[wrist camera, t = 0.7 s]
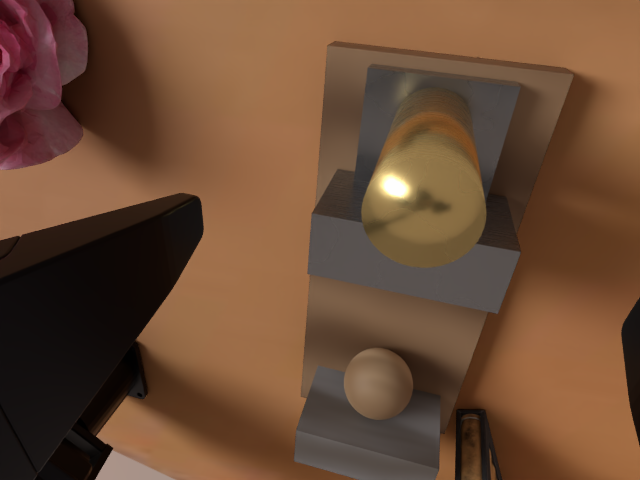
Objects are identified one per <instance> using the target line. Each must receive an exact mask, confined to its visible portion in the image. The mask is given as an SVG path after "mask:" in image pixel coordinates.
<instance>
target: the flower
mask: <svg viewBox="0 0 640 480" xmlns="http://www.w3.org/2000/svg"><path fill="white" fill-rule="evenodd" d="M74 12H75V10H74V3H73V0H0V169H2V170H9V169H18V168H24V167H28V166H33V165H37V164H41V163H44V162H47V161H50V160H52V159H53V158H55V157H57V156H58V155H61V154H64V153H66V152H68V151H69V150H71V149H72V148H73V147H74V146H76V145H77V144H78V143H79V141H80V140H81V138H82V136H83V129H82V127H81V125H80V124H79V123H78V122H77V120H76V119H75V118H74V117H73V116H72V115H71V113H70V112H69V111H68V110H67V108H66V107H65V106H64V105H63V104H62V102H61V96H62V85H65V84H67V83H69V82H70V81H72V80H73V79H75V78H76V77H78V76H79V75H81V74H82V73H84V71H85V69H86V65H87V57H88V39H87V32H86V28H85V27H84V25H83V24H82V23H81V21H79V20H78V19H77V18H76V17H75V16H74V14H73V13H74Z"/></svg>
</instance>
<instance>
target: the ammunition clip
mask: <svg viewBox="0 0 640 480" xmlns="http://www.w3.org/2000/svg"><path fill="white" fill-rule="evenodd" d="M455 480H502V477H501V473H500V469H499V465H498V461H497V457H496V453H495V449H494V445H493V440H492V436H491V432H490V428H489V424H488V420H487V416H486V412H485V410H457V414H456V460H455Z"/></svg>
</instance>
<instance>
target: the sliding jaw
mask: <svg viewBox="0 0 640 480" xmlns="http://www.w3.org/2000/svg"><path fill="white" fill-rule="evenodd" d="M520 88H521V86H520V85H519V83H518V82H515V81H507V80H499V79H491V78H483V77H475V76H467V75H458V74H450V73H442V72H434V71H426V70H418V69H410V68H402V67H393V66H385V65H377V64H371V65H370V66H369V67H368V70H367V78H366V86H365V94H364V102H363V110H362V119H361V127H360V135H359V143H358V151H357V159H356V167H355V172H354V171H348V170H342V169H337V171H336V172H335V174H334V176H333V178H332V179H331V181H330V183H329V185H328V186H327V188H326V190H325V191H324V193H323V195H322V197H321V198H320V200H319V202H318V204H317V205H316V207H315V209H314V211H313V212H312V219H311V232H310V246H309V260H308V274H311V275H315V276H320V277H325V278H330V279H334V280H339V281H344V282H349V283H353V284H358V285H363V286H368V287H372V288H377V289H382V290H387V291H392V292H396V293H401V294H406V295H411V296H415V297H420V298H425V299H430V300H434V301H439V302H444V303H449V304H453V305H458V306H463V307H468V308H473V309H477V310H482V311H487V312H492V313H496V314H498V312H499V309H500V307H501V304H502V301H503V299H504V296H505V293H506V291H507V288H508V285H509V283H510V280H511V278H512V275H513V272H514V270H515V267H516V264H517V262H518V259H519V256H520V254H521V250H520V246H519V242H518V239H517V235H516V231H515V227H514V223H513V220H512V216H511V212H510V208H509V204H508V201H507V197H505V196H499V195H492V194H488V193H489V190H490V187H491V183H492V180H493V177H494V173H495V170H496V167H497V164H498V160H499V157H500V154H501V150H502V147H503V144H504V141H505V137H506V134H507V131H508V127H509V124H510V121H511V118H512V114H513V111H514V108H515V104H516V101H517V98H518V95H519V91H520Z"/></svg>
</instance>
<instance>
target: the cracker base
mask: <svg viewBox="0 0 640 480" xmlns="http://www.w3.org/2000/svg"><path fill="white" fill-rule="evenodd" d="M371 64H377V65H385V66H393V67H402V68H410V69H418V70H426V71H434V72H442V73H450V74H458V75H467V76H475V77H483V78H491V79H499V80H507V81H515V82H518V83H519V85H520V86H521V88H520V91H519V95H518V98H517V101H516V104H515V108H514V111H513V114H512V118H511V121H510V124H509V127H508V131H507V134H506V137H505V141H504V144H503V147H502V150H501V154H500V157H499V160H498V164H497V167H496V170H495V173H494V177H493V180H492V183H491V187H490V190H489V193H488V194H492V195H499V196H505V197H507V201H508V204H509V208H510V212H511V216H512V220H513V223H514V227H515V231H516V234H517V231H518V228H519V226H520V223H521V220H522V217H523V215H524V212H525V209H526V206H527V204H528V201H529V198H530V195H531V192H532V190H533V187H534V184H535V181H536V179H537V176H538V173H539V170H540V168H541V165H542V162H543V159H544V156H545V154H546V151H547V148H548V145H549V143H550V140H551V137H552V134H553V132H554V129H555V126H556V123H557V120H558V118H559V115H560V112H561V109H562V107H563V104H564V101H565V98H566V96H567V93H568V90H569V87H570V84H571V82H572V79H573V76H574V74H573V73H571V72H570V71H569V70H567V69H566V68H561V67H552V66H544V65H535V64H526V63H518V62H509V61H501V60H492V59H483V58H475V57H466V56H457V55H449V54H440V53H432V52H423V51H414V50H406V49H397V48H388V47H380V46H371V45H363V44H354V43H345V42H337V41H335V42H333V43H331V44H329V45H328V46H327V59H326V72H325V85H324V98H323V112H322V125H321V138H320V151H319V164H318V177H317V190H316V203H315V207H316V205H317V204H318V202H319V200H320V198H321V197H322V195H323V193H324V191H325V190H326V188H327V186H328V185H329V183H330V181H331V179H332V178H333V176H334V174H335V172H336V171H337V169H342V170H348V171H354V172H355V167H356V159H357V151H358V143H359V135H360V127H361V119H362V110H363V102H364V94H365V86H366V78H367V70H368V67H369V66H370V65H371ZM487 314H488V312H487V311H482V310H477V309H473V308H468V307H463V306H458V305H453V304H449V303H444V302H439V301H434V300H430V299H425V298H420V297H415V296H411V295H406V294H401V293H396V292H392V291H387V290H382V289H377V288H372V287H368V286H363V285H358V284H353V283H349V282H344V281H339V280H334V279H330V278H325V277H320V276H315V275H311V274H310V282H309V295H308V308H307V321H306V334H305V347H304V361H303V374H302V387H301V397H304V398H307V400H306V403H305V405H304V408H303V411H302V414H301V417H300V420H299V423H298V426H297V429H296V440H295V453H294V461H295V462H299V463H302V464H306V465H309V466H313V467H316V468H320V469H323V470H327V471H330V472H334V473H337V474H341V475H344V476H348V477H351V478H355V479H358V480H435V479H436V476H437V474H438V471H439V451H440V433H443V434H444V433H445V431H446V428H447V425H448V422H449V420H450V417H451V414H452V411H453V408H454V406H455V403H456V400H457V397H458V395H459V392H460V389H461V386H462V384H463V381H464V378H465V375H466V372H467V370H468V367H469V364H470V361H471V359H472V356H473V353H474V350H475V348H476V345H477V342H478V339H479V336H480V334H481V331H482V328H483V325H484V323H485V320H486V317H487Z"/></svg>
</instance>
